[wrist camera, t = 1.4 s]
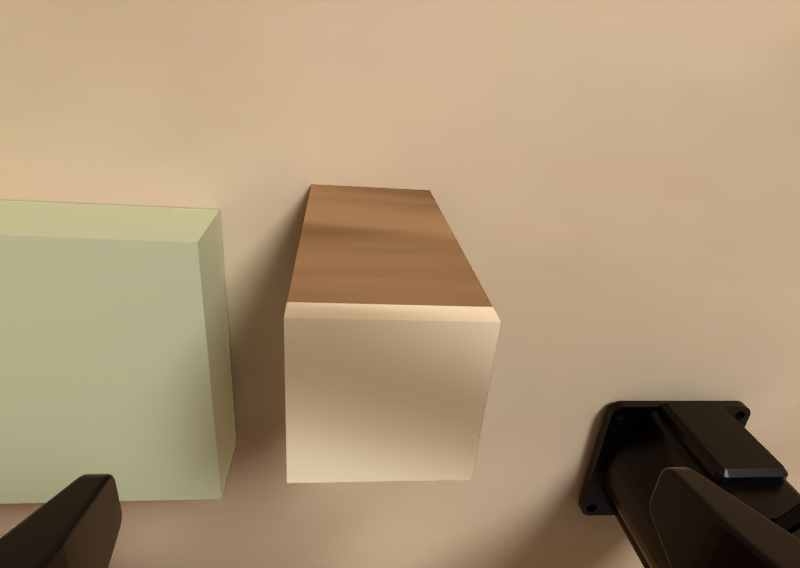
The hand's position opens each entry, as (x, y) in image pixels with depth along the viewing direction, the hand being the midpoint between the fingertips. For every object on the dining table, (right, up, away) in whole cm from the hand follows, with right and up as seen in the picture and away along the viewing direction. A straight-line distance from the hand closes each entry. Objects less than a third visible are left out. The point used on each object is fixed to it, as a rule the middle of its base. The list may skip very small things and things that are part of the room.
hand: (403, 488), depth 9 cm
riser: (-12, +2, +10) cm, 16 cm away
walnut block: (-1, +5, +10) cm, 11 cm away
